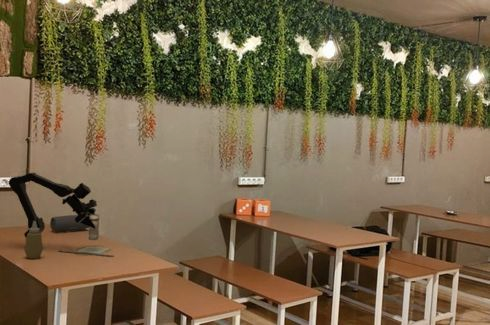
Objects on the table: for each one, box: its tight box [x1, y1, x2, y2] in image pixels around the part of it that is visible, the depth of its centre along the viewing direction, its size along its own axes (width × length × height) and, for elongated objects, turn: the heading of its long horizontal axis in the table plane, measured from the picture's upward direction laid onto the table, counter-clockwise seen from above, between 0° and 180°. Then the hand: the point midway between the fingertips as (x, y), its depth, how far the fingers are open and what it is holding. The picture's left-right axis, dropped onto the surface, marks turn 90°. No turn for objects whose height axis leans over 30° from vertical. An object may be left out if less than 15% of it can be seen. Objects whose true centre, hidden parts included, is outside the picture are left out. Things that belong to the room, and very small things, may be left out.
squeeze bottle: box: [24, 221, 44, 260], centre depth 255 cm, size 8×8×18 cm
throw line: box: [58, 250, 115, 258], centre depth 268 cm, size 30×2×1 cm, turn 80°
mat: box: [75, 245, 111, 254], centre depth 277 cm, size 13×13×1 cm
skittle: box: [88, 213, 100, 241], centre depth 274 cm, size 5×5×13 cm
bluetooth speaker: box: [49, 214, 89, 233], centre depth 325 cm, size 23×9×10 cm, turn 133°
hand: (96, 227), depth 274 cm, fingers closed on skittle, 5 cm apart
